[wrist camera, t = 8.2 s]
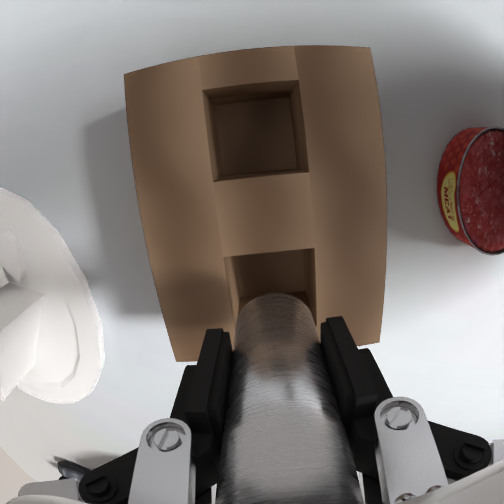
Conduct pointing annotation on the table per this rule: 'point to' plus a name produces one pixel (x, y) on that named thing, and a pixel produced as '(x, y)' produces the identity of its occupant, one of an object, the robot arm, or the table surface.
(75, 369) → the dish
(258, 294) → the hole block
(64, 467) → the can opener
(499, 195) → the canned food
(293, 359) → the pin
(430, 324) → the table surface
